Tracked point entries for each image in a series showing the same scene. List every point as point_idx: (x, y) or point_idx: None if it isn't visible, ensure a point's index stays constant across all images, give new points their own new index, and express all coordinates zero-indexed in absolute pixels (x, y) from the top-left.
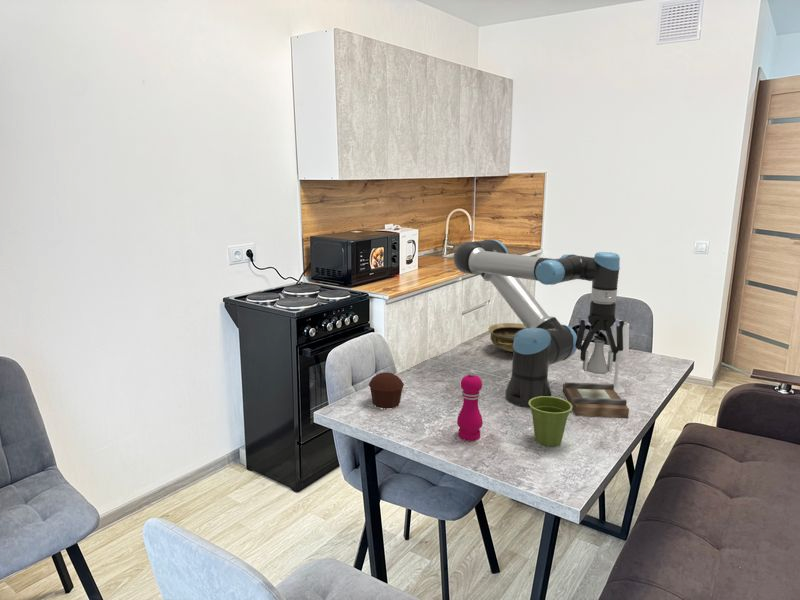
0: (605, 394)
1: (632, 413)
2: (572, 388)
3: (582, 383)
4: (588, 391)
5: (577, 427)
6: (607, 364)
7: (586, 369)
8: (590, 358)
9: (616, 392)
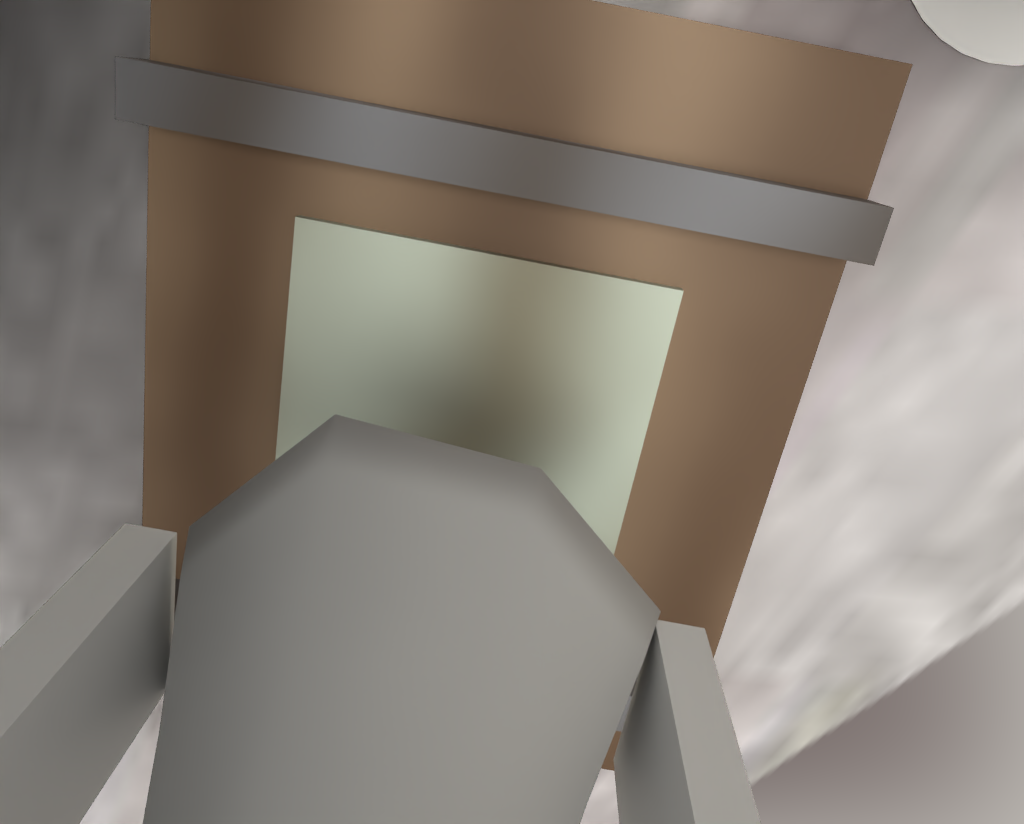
0: (612, 440)
1: (765, 631)
2: (246, 156)
3: (392, 138)
4: (426, 321)
5: (138, 802)
6: (664, 720)
7: (141, 708)
8: (149, 788)
9: (981, 51)
